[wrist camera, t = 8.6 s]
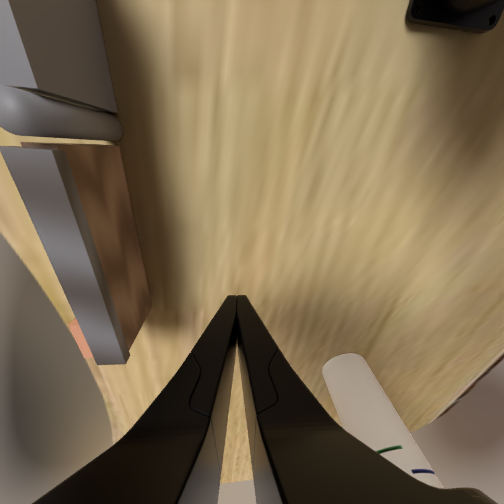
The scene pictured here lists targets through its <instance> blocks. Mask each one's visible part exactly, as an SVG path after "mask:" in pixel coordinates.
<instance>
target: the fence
mask: <svg viewBox="0 0 504 504" xmlns="http://www.w3.org/2000/svg"><path fill="white" fill-rule="evenodd" d="M101 111H104V112H115V113H118V111H117V106H116V101H115V96H114V91H113V86H112V81H111V76H110V70H109V65H108V60H107V55H106V50H105V45H104V40H103V35H102V30H101V25H100V20H99V15H98V10H97V5H96V0H0V127H2V128H3V129H4V130H6V131H8V132H10V133H12V134H15V135H20V136H37V137H54V138H70V139H87V140H104V141H117V140H119V139H120V138H121V137H122V133H123V130H122V126H121V123H120V122H119V120H118V119H117V118H116V117H114V116H113V115H111V114H108V113H104V112H101ZM68 326H69V328H70V330H71V332H72V334H73V336H74V338H75V340H76V342H77V344H78V346H79V348H80V350H81V352H82V354H83V356H84V358H94V357H93V355H92V353H91V350H90V348H89V346H88V344H87V342H86V339H85V337H84V335H83V333H82V330H81V328H80V326H79V324H78V322H77V319H76V318H75V319H74V320H73V321H72V322H71V323H70V324H69V325H68Z"/></svg>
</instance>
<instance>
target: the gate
mask: <svg viewBox="0 0 504 504" xmlns="http://www.w3.org/2000/svg"><path fill="white" fill-rule="evenodd" d="M21 145H22V147H19V146H0V151H1V153H2V156H3V158H4V160H5V162H6V165H7V167H8V169H9V171H10V173H11V176H12V178H13V180H14V182H15V184H16V187H17V189H18V191H19V193H20V196H21V198H22V200H23V202H24V204H25V207H26V209H27V211H28V213H29V215H30V218H31V220H32V222H33V224H34V226H35V229H36V231H37V233H38V235H39V238H40V240H41V242H42V244H43V246H44V249H45V251H46V253H47V255H48V257H49V260H50V262H51V264H52V266H53V269H54V271H55V273H56V275H57V277H58V280H59V282H60V284H61V286H62V288H63V291H64V293H65V295H66V297H67V299H68V302H69V304H70V306H71V308H72V311H73V313H74V315H75V317H76V319H77V322H78V324H79V326H80V328H81V330H82V333H83V335H84V337H85V339H86V342H87V344H88V346H89V348H90V350H91V353H92V355H93V357H94V359H95V361H96V364H97V365H115V364H126V363H127V361H128V359H129V357H130V353H129V350H130V348H131V346H132V344H133V342H134V340H135V338H136V336H137V334H138V332H139V330H140V329H141V327H142V325H143V323H144V321H145V319H146V317H147V315H148V313H149V311H150V309H151V308H152V303H151V298H150V294H149V289H148V284H147V279H146V274H145V269H144V264H143V259H142V255H141V250H140V245H139V240H138V235H137V230H136V225H135V220H134V216H133V211H132V206H131V201H130V196H129V191H128V186H127V181H126V177H125V172H124V167H123V162H122V157H121V152H120V147H119V146H112V145H99V144H69V143H34V142H21Z"/></svg>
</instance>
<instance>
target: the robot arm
mask: <svg viewBox="0 0 504 504" xmlns="http://www.w3.org/2000/svg"><path fill="white" fill-rule="evenodd" d="M415 6H416V7H417V9H418V10H417V14H416V13H415ZM503 10H504V0H410V2H409V5H408V9H407V13H406V17H407V20H408V21H409V22H412V23H418V24H424V25H431V26H437V27H443V28H450V29H456V30H463V31H469V32H475V33H485V32H487V31H489V30H491V29H493V28H494V27H495V26H496V24H497V23H498V21H499V19H500V16H501V14H502V12H503ZM488 20H489V24H488ZM237 346H238V355H239V363H240V371H241V379H242V388H243V396H244V404H245V412H246V421H247V429H248V437H249V445H250V454H251V462H252V470H253V478H254V486H255V495H256V503H257V504H497V503H496V502H495V501H493V500H492V499H491V498H490V497H488V496H487V495H486V494H484V493H483V492H482V491H480V490H478V489H475V488H452V489H442V488H437V487H433V486H430V485H428V484H426V483H423V482H421V481H419V480H417V479H416V478H414V477H412V476H411V475H409V474H408V473H406V472H405V471H403V470H402V469H400V468H399V467H397V466H396V465H395V464H393V463H392V462H390V461H389V460H387V459H386V458H384V457H383V456H382V455H380V454H379V453H377V452H376V451H374V450H373V449H371V448H370V447H369V446H367V445H366V444H364V443H363V442H361V441H360V440H358V439H357V438H356V437H354V436H353V435H351V434H350V433H348V432H347V431H346V430H344V429H343V428H342V427H341V426H340V425H339V424H338V423H337V422H335V421H334V419H333V418H332V417H331V416H330V415H329V414H328V413H327V411H326V410H325V409H324V408H323V407H322V405H321V404H320V403H319V402H318V400H317V399H316V398H315V397H314V395H313V394H312V393H311V392H310V390H309V389H308V388H307V387H306V385H305V384H304V383H303V382H302V380H301V379H300V378H299V377H298V375H297V374H296V373H295V371H294V370H293V369H292V367H291V366H290V364H289V363H288V361H287V360H286V358H285V357H284V355H283V354H282V352H281V350H280V349H279V347H278V346H277V344H276V343H275V341H274V339H273V338H272V336H271V335H270V333H269V331H268V330H267V328H266V327H265V325H264V324H263V322H262V320H261V319H260V317H259V316H258V314H257V312H256V311H255V309H254V308H253V306H252V304H251V303H250V301H249V300H248V298H247V296H246V295H238V296H236V295H229V296H227V298H226V299H225V301H224V302H223V304H222V305H221V307H220V308H219V310H218V311H217V313H216V314H215V316H214V317H213V319H212V320H211V322H210V323H209V325H208V326H207V328H206V329H205V331H204V332H203V334H202V335H201V337H200V338H199V340H198V341H197V343H196V345H195V346H194V348H193V349H192V351H191V353H189V355H188V356H187V358H186V360H185V361H184V362H183V364H182V365H181V367H180V368H179V370H178V371H177V372H176V374H175V375H174V376H173V378H172V379H171V380H170V381H169V383H168V384H167V385H166V387H165V388H164V389H163V390H162V391H161V393H160V394H159V395H158V396H157V398H156V399H155V400H154V401H153V402H152V404H151V405H150V406H149V407H148V409H147V410H146V411H145V412H144V413H143V415H142V416H141V417H140V418H139V420H138V421H137V422H136V423H135V424H134V426H133V427H132V428H131V429H130V430H129V431H128V432H127V433H126V434H125V435H124V436H123V437H122V438H121V439H120V440H119V441H118V442H116V443H115V444H114V445H113V446H112V447H110V448H109V449H108V450H106V451H105V452H104V453H102V454H101V455H99V456H98V457H96V458H95V459H94V460H92V461H91V462H89V463H88V464H87V465H85V466H84V467H82V468H81V469H80V470H78V471H77V472H76V473H74V474H73V475H71V476H70V477H68V478H67V479H66V480H64V481H63V482H61V483H60V484H59V485H57V486H56V487H55V488H53V489H52V490H50V491H49V492H48V493H46V494H45V495H43V496H42V497H41V498H39V499H38V500H36V501H35V502H34V503H32V504H217V502H218V494H219V486H220V478H221V476H220V475H221V470H222V461H223V453H224V445H225V437H226V429H227V421H228V413H229V405H230V397H231V389H232V381H233V372H234V364H235V356H236V348H237Z"/></svg>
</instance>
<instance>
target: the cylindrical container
mask: <svg viewBox="0 0 504 504" xmlns="http://www.w3.org/2000/svg"><path fill="white" fill-rule="evenodd" d="M322 375H323V378H324V380H325V383H326V385H327V388H328V390H329V393H330V396H331V398H332V401H333V403H334V406H335V409H336V411H337V414H338V416H339V419H340V421H341V424H342V427H343V429H344V430H346V431H347V432H348V433H350V434H351V435H353V436H354V437H356V438H357V439H358V440H360V441H361V442H363V443H364V444H366V445H367V446H369V447H370V448H371V449H373V450H374V451H376V452H377V453H379V454H380V455H382V456H383V457H384V458H386V459H387V460H389V461H390V462H392V463H393V464H395V465H396V466H397V467H399V468H400V469H402V470H403V471H405V472H406V473H408V474H409V475H411V476H412V477H414V478H416V479H417V480H419V481H421V482H423V483H426V484H428V485H430V486H433V487H437V488H442V489H444V487H443V486H442V484H441V482H440V481H439V479H438V478H437V476H436V475H434V471H433V469H432V468H431V466H430V465H429V463H428V461H427V460H426V458H425V457H424V455H423V453H422V452H421V450H420V448H419V447H418V445H417V444H416V442H415V441H414V439H413V437H412V435H411V434H410V432H409V431H408V429H407V427H406V426H405V424H404V423H403V421H402V419H401V418H400V416H399V414H398V413H397V411H396V410H395V408H394V406H393V405H392V403H391V401H390V400H389V398H388V397H387V395H386V393H385V392H384V390H383V388H382V387H381V385H380V384H379V382H378V380H377V379H376V377H375V375H374V374H373V372H372V370H371V369H370V367H369V366H368V364H367V362H366V361H365V359H364V358H363V357H362V356H361V355H359V354H355V353H346V354H341V355H338V356H335V357H333V358H331V359H330V360H329V361H327V362H326V363H325V364H324V366H323V368H322Z"/></svg>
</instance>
